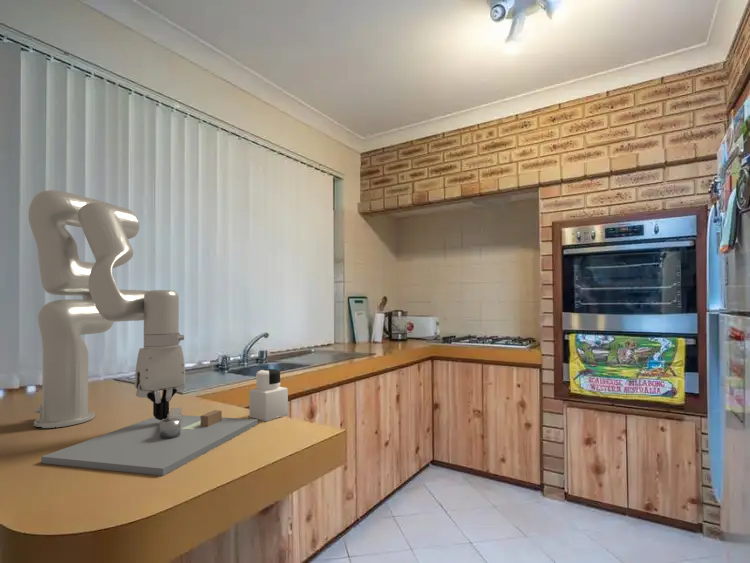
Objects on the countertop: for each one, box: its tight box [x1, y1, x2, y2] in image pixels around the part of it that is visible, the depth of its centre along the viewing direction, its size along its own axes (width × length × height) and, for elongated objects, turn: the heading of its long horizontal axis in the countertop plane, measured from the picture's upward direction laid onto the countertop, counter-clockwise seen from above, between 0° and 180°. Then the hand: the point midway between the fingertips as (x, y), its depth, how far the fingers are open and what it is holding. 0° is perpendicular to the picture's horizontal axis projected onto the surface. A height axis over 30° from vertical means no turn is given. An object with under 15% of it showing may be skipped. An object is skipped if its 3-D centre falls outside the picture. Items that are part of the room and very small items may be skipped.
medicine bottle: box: [248, 368, 289, 422], centre depth 106 cm, size 7×7×12 cm
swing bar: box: [160, 407, 183, 438], centre depth 94 cm, size 16×4×3 cm, turn 21°
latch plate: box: [40, 409, 259, 477], centre depth 89 cm, size 28×30×4 cm
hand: (161, 418), depth 98 cm, fingers closed
